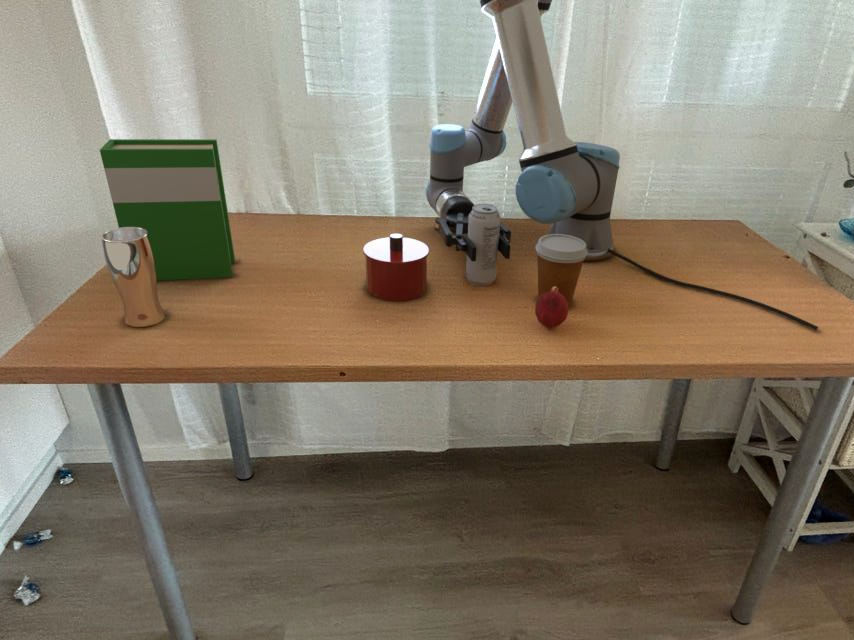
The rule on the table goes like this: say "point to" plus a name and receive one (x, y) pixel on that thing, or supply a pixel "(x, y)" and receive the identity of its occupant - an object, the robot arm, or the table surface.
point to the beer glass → (134, 274)
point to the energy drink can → (483, 244)
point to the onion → (551, 308)
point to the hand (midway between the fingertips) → (491, 253)
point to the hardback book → (173, 202)
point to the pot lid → (396, 250)
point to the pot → (396, 280)
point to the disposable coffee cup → (559, 263)
